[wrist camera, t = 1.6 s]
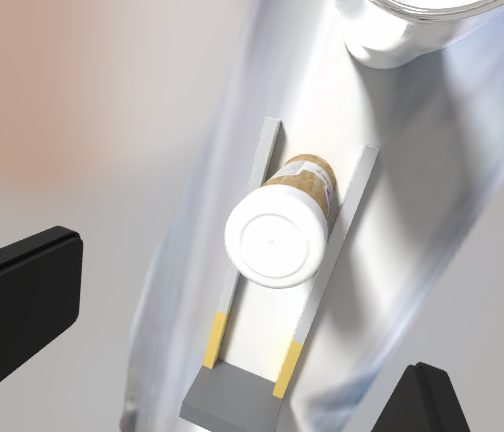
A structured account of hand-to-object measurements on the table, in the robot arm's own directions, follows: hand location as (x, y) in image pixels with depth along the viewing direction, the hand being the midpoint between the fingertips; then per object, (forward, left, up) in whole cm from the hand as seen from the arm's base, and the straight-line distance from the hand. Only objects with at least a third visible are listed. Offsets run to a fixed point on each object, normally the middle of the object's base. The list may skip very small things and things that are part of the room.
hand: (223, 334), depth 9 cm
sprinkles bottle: (0, 0, -19) cm, 19 cm away
